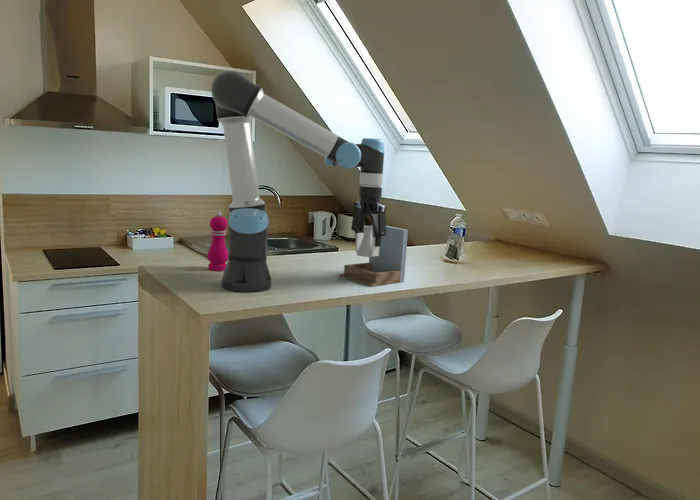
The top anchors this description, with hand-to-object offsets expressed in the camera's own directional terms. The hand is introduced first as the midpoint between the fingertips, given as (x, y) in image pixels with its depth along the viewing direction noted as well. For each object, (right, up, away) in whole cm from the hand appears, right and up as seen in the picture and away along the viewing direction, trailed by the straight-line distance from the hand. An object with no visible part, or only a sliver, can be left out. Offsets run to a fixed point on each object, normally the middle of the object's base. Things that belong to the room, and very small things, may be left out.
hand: (366, 253), depth 196 cm
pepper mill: (-51, -5, +5) cm, 52 cm away
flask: (0, -1, 0) cm, 1 cm away
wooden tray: (+1, -9, +3) cm, 9 cm away
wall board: (+7, -8, +8) cm, 13 cm away
